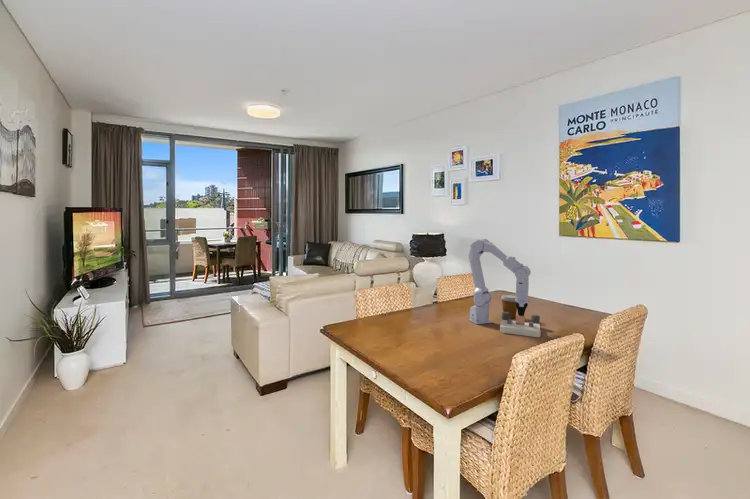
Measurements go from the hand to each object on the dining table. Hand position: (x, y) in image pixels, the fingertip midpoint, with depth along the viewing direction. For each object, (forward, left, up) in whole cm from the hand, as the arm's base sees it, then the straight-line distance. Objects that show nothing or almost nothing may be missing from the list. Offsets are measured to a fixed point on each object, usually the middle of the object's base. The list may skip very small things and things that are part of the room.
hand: (521, 317), depth 183 cm
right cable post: (+10, +1, -6) cm, 12 cm away
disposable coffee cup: (+9, +20, -7) cm, 23 cm away
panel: (-1, -1, -6) cm, 6 cm away
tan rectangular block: (-1, -1, -3) cm, 3 cm away
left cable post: (-1, +10, -6) cm, 12 cm away
